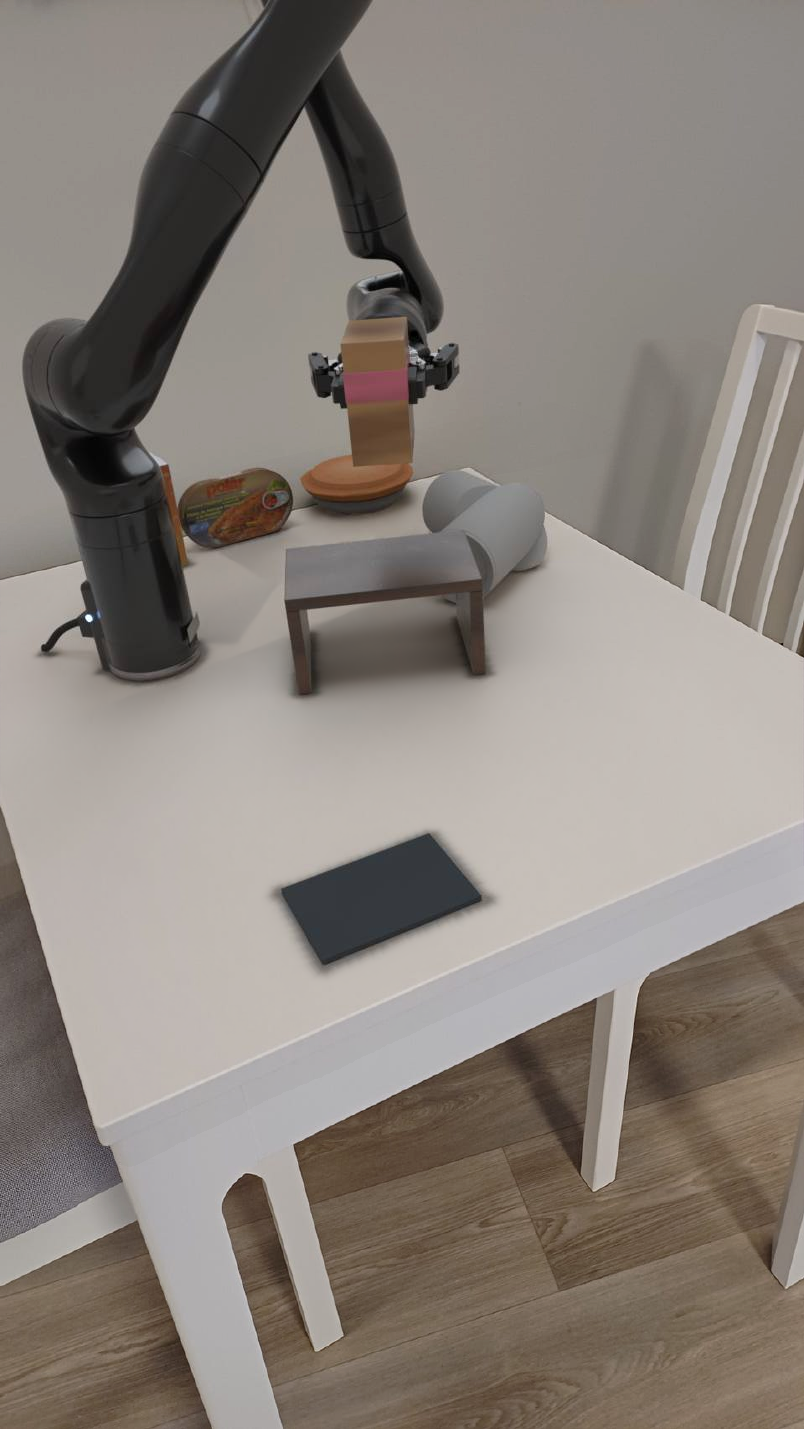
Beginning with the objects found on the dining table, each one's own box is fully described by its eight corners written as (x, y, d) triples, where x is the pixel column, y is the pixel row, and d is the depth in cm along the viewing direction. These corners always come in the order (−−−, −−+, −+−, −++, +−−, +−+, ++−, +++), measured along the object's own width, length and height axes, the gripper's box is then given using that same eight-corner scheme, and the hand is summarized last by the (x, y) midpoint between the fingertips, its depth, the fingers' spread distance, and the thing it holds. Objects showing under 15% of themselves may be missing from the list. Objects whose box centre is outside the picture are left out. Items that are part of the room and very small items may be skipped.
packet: (413, 463, 83) (404, 339, 77) (352, 467, 83) (339, 343, 78) (415, 432, 90) (407, 316, 84) (359, 436, 90) (347, 320, 85)
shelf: (486, 674, 95) (482, 578, 90) (299, 695, 95) (284, 600, 89) (468, 618, 105) (464, 529, 100) (299, 636, 105) (285, 548, 99)
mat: (323, 964, 65) (322, 960, 65) (281, 892, 71) (280, 888, 71) (482, 899, 69) (481, 895, 69) (429, 836, 75) (429, 832, 75)
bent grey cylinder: (598, 561, 111) (493, 512, 126) (584, 477, 105) (475, 436, 120) (473, 639, 107) (379, 579, 121) (451, 556, 100) (354, 503, 115)
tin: (188, 555, 126) (175, 491, 121) (181, 547, 128) (168, 484, 124) (298, 526, 131) (289, 464, 127) (289, 519, 134) (280, 458, 129)
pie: (372, 473, 147) (369, 439, 144) (437, 498, 136) (435, 462, 133) (283, 501, 140) (278, 467, 137) (344, 530, 129) (340, 493, 126)
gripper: (309, 307, 94) (285, 353, 80) (460, 297, 93) (464, 341, 79) (318, 388, 98) (297, 444, 84) (463, 378, 97) (467, 434, 83)
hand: (378, 394), depth 81 cm, fingers closed on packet, 5 cm apart
